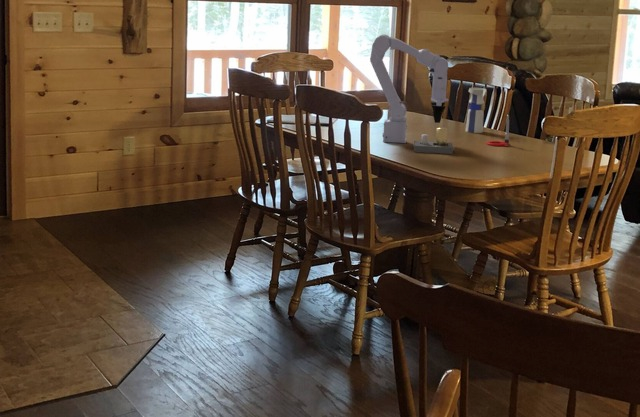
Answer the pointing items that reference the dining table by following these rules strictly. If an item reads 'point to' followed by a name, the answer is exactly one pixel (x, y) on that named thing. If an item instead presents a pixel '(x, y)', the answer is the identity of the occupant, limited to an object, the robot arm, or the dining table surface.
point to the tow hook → (505, 137)
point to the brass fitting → (441, 136)
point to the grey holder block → (431, 146)
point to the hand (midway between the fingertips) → (436, 121)
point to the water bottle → (476, 109)
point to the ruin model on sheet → (388, 115)
